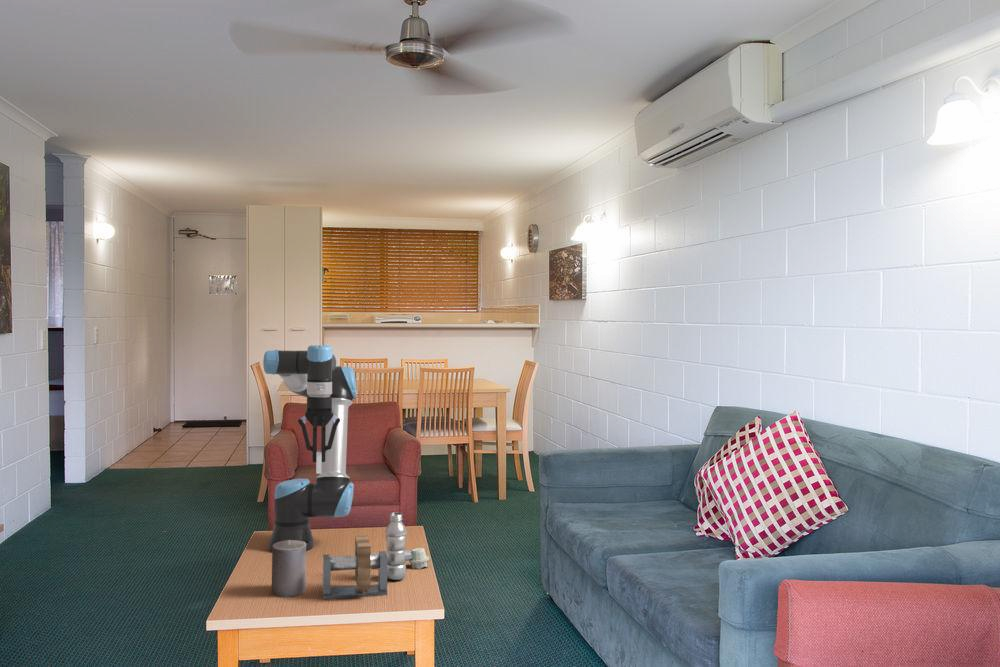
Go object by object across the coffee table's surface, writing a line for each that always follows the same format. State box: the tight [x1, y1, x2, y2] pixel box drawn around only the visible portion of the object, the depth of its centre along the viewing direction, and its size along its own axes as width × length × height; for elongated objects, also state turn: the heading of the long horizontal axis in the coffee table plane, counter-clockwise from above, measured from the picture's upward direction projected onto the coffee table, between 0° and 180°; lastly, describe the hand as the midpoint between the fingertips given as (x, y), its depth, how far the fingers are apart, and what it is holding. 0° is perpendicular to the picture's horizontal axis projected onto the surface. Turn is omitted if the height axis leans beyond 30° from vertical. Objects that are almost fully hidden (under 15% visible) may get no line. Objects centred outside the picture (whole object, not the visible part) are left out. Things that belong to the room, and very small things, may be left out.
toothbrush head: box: [376, 547, 430, 570], centre depth 250 cm, size 5×7×25 cm
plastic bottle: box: [385, 512, 408, 581], centre depth 239 cm, size 6×7×20 cm
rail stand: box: [322, 550, 388, 601], centre depth 226 cm, size 7×18×11 cm, turn 105°
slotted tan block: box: [354, 535, 372, 590], centre depth 226 cm, size 12×4×12 cm, turn 15°
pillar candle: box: [271, 540, 307, 598], centre depth 227 cm, size 10×10×15 cm
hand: (318, 472), depth 238 cm, fingers closed
